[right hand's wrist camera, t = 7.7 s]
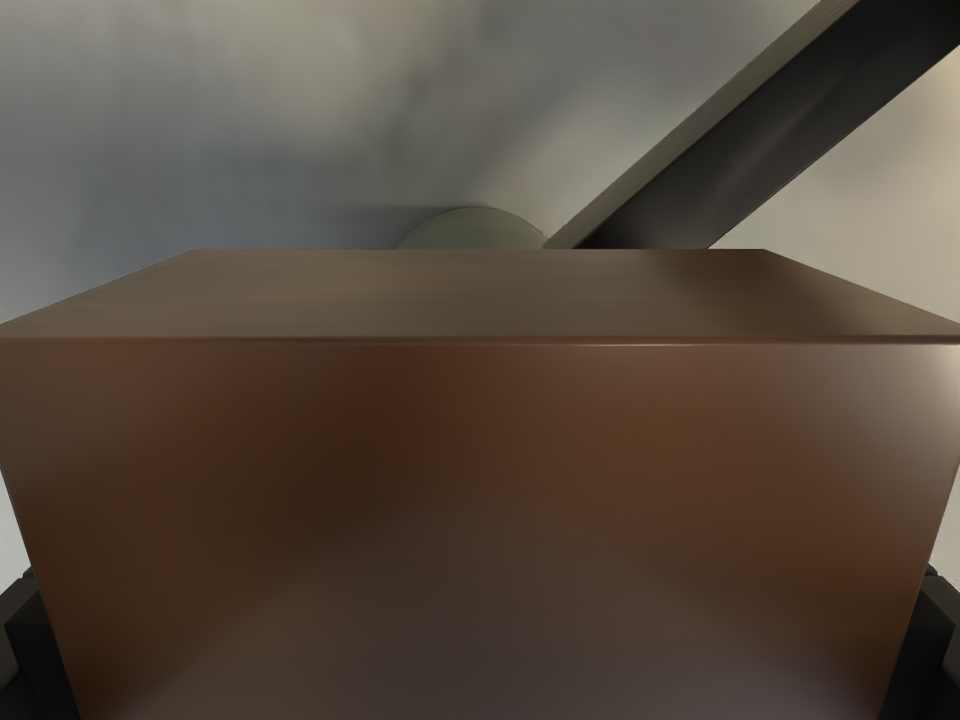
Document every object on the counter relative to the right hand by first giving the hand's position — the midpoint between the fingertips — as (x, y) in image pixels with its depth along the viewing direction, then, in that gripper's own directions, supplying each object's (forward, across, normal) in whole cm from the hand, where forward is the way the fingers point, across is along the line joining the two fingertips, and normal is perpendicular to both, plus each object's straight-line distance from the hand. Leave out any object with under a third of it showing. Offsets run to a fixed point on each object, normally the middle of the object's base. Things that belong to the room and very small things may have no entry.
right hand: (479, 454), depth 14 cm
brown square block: (-2, 0, 0) cm, 2 cm away
